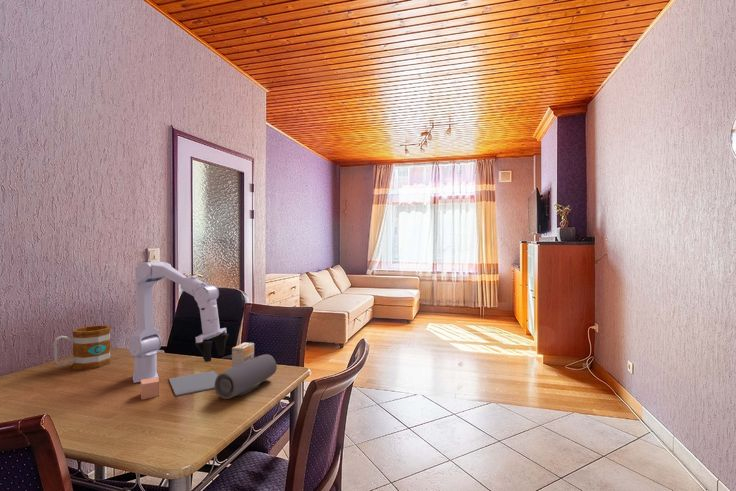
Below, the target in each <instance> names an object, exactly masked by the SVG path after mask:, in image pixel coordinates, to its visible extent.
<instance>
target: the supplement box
mask: <svg viewBox="0 0 736 491" xmlns="http://www.w3.org/2000/svg"><path fill="white" fill-rule="evenodd" d="M252 358H255V343H254V342H242V343H240V344H238V345H236V346H233V347H232V348H231V368H232V367H234V366H236V365H238V364H240V363H243V362H245V361H247V360H250V359H252Z"/></svg>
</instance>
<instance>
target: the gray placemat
mask: <svg viewBox="0 0 736 491" xmlns="http://www.w3.org/2000/svg"><path fill="white" fill-rule="evenodd" d="M218 375H219V374H218V373H217V372H216V371H215V370H211V371H210V370H209V371H205V372H200V373H199V372H198V373H193V374H188V375H182V376H177V377H171V378H168V381H169V384H170V387H171V389H172V392H173V393H174V396H175V397H181V396H184V395H190V394H195V393H200V392H206V391H210V390H215V380H216V378H217V376H218Z"/></svg>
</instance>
